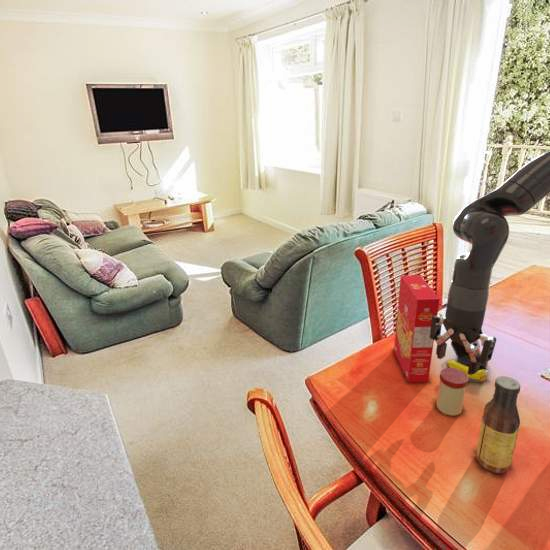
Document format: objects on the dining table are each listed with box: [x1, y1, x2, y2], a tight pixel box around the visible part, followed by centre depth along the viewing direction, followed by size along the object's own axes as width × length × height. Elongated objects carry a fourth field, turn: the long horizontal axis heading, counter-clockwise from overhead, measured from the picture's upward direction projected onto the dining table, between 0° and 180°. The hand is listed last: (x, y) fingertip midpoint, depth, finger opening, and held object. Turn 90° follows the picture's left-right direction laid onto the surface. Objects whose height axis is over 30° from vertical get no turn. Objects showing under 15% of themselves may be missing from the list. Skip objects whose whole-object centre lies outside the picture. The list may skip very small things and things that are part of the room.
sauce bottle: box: [475, 375, 521, 474], centre depth 73 cm, size 7×6×20 cm
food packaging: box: [393, 274, 440, 383], centre depth 102 cm, size 15×5×25 cm, turn 178°
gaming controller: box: [445, 340, 489, 383], centre depth 103 cm, size 15×6×10 cm
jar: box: [436, 379, 467, 417], centre depth 90 cm, size 6×6×9 cm
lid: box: [439, 367, 469, 389], centre depth 88 cm, size 6×6×1 cm
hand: (455, 364), depth 87 cm, fingers open, 7 cm apart
